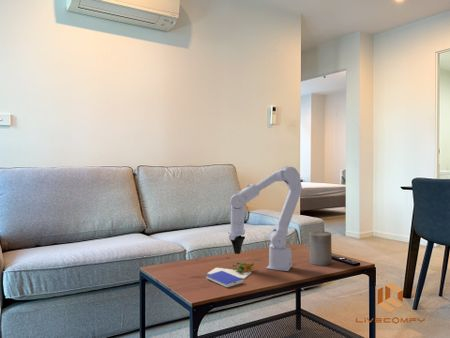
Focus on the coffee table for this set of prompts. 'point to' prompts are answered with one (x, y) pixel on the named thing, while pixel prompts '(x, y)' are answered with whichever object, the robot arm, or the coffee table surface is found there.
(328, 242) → the pillar candle
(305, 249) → the coffee table surface
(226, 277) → the hard drive
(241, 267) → the figurine
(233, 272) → the cream mat
